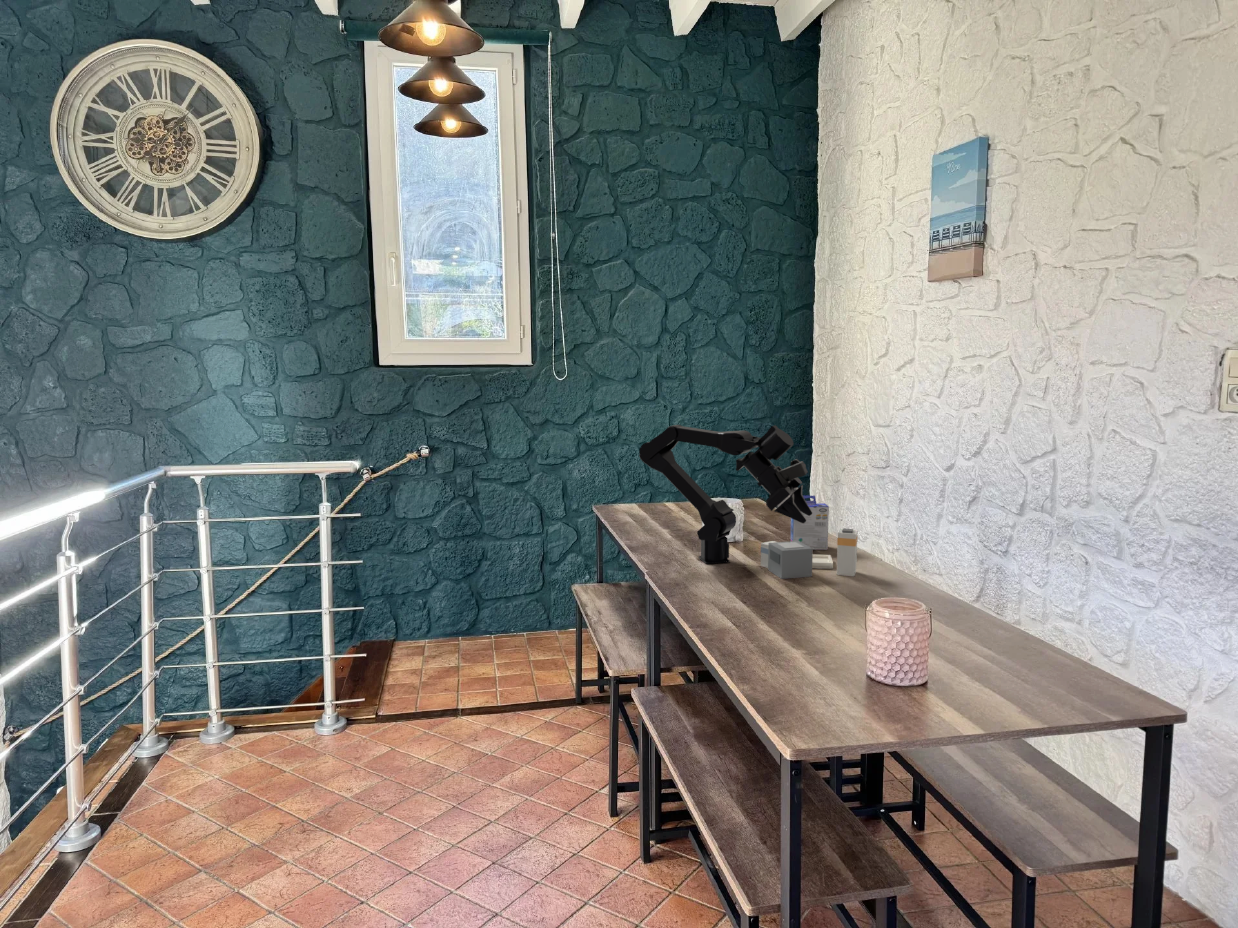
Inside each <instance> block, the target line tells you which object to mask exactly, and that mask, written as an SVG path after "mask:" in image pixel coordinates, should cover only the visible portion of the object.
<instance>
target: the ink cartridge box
mask: <svg viewBox="0 0 1238 928" xmlns="http://www.w3.org/2000/svg"><path fill="white" fill-rule="evenodd" d="M803 497H804V499H805V500H806V499H812V500H806V502H807V504H808V506H809V508H810V509H811V511H812V514H811V515H810V516H808V515H806V514H804V513H803V512H801V513H802V514H803V516H804V517H805V519H806V522H805V523H801V522H799V521H796V520H794V519H792V518H790V541H799V542H801V543H803V544H805V545H807V546H809V547H811V548H813V550H828V545H829V517H830V516H829V514H830V507H829V505H828V504H826V503H824V502H823V503H817V500H816V495H803Z"/></svg>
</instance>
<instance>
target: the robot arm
mask: <svg viewBox="0 0 1238 928" xmlns="http://www.w3.org/2000/svg"><path fill="white" fill-rule="evenodd" d="M679 442H681V443H686V444H687V443H688V444H693V445H700V446H707V447H713V448H715V449H717V450H719V451H721V452H723V453H726V454H729V455H732V456H739V455H742V454H745V456H743V458H741V457H738V458H737V459H736V460H735V463H736V466H735V470H736V472H738V471H740V470H741V469H742V468H745V469H746V470H747V471H748V473H750V475H751V476H752V477H753V478H754V479H755V480H756V481H757V484H756V485H757V486H758V487H761V486H762V488H763V489H764V490H765V491H766V492H767V493H768V494H769V495H768V498H767V499H766V500H765V501H766V502H765V505H766V507H767V508H768V509H769V510H770V511H771V512H772V511H773V510H774V511H773V512H774V513H778V514H781V515H783V516H786V517H787V518H790V519H791V518H792V519H794V520H796V521H799V522H801V523H805V522H806V519H805V517H804V516H803V514H802V513H801V512H803V513H804V514H806V515H808V516H810V515H811V514H812V511H811V509H810V508H809V506H808V504H807V502H806V501H807V500H806V499H804V497H803V496H804V495H803V488H804V485H803V481H801V479H800V478H801V477H805V476H807V474H809V472H808V469H807V466H806V465H807V464H806V463H805V462H804V461H800V460H799V459H798V458H796V459H793V460H791V461H790V465H789V466H787V467H785V468H782V467H781V466H778V465H777V466H776V465H775V464H773V462H772V460H774V461H778V459H780V458H781V457H782V456H783V455H784V454H785V453H786V452H787V451H788V450H789V449H791V448H792V447H793V446H794V444H795V443H794V440H793V438H792V437H791V436H790V435H789V434H788V433H786V432H785V431H784V430H782V429H780V428H779V427H778V426H777V425H772V426H770V428H768V430H767V432H766V433H765V434H763V436H761V437H758V436H754V435H752V434H751V432H749V431H748V430H731V431H730V430H729V431H716V430H710V429H702V428H696V427H690V426H685V425H684V426H683V425H681V424H673V425H670V426H668V427H667V428H665V430H664V431H662V432H661V433H659V434H658V435H656V437H654V438H653V439H651V440H650V441H648V442H644V443H642V444H641V446H640V447H639V453H638V454H639V455H638V456H639V458H640V460H641V462H643V463H644V464H645V465H647V466H648V467H649V468H651V469H652V470H654V471H657V472H659V473H661V474H662V475H663V476H664V477H665V478H666V479H667V480H668V481H669V482H670V483H671V485H673V486H674V487H675V488H676V489H677V490H678V491H679V493H681V494H682V496H683V497H684V498H685V499H686V500H687V501H688V502H689V503H690V504H691V505H692V506H693V507H694V509H696V510H697V512H698V515H699V517H700V521H701V522H702V523H703V526H701V528H700V529H698V530H697V531H696V533H697V537H698V540H700V555H698V559H699V560H701V561H702V562H703V563H704V564H706V565H710V564H711V565H712V564H723V563H730V543H729V542H728V537H727V536H729V535H730V533H731V530H733V529H734V528H735V526H736V524H737V516H736V514H735V513H734V512H733V511H734V508H732V507H730V506H729V504H727V502H726V500H724V499H720V500H717V501H716V500H715V499H712V498H711V497H710V496H709V494H708V493H706V491H704V489H703V488H702V487H700V485H699V484H698V483H697V482H696V481H695V480H694V479H693V478H692V477H691V476H690V475H689V474H688V473H687V472H686V471H685V470H684V469H683V468H682V467H681V465H679V464H678V463H677V460H676V458H675V455H674V452H673V449H674V448H675V447H676V445H677V444H678V443H679ZM755 448H757V449H756V450H755V451H753V452H752V450H753V449H755ZM746 453H747V454H746ZM801 484H802V485H801Z"/></svg>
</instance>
